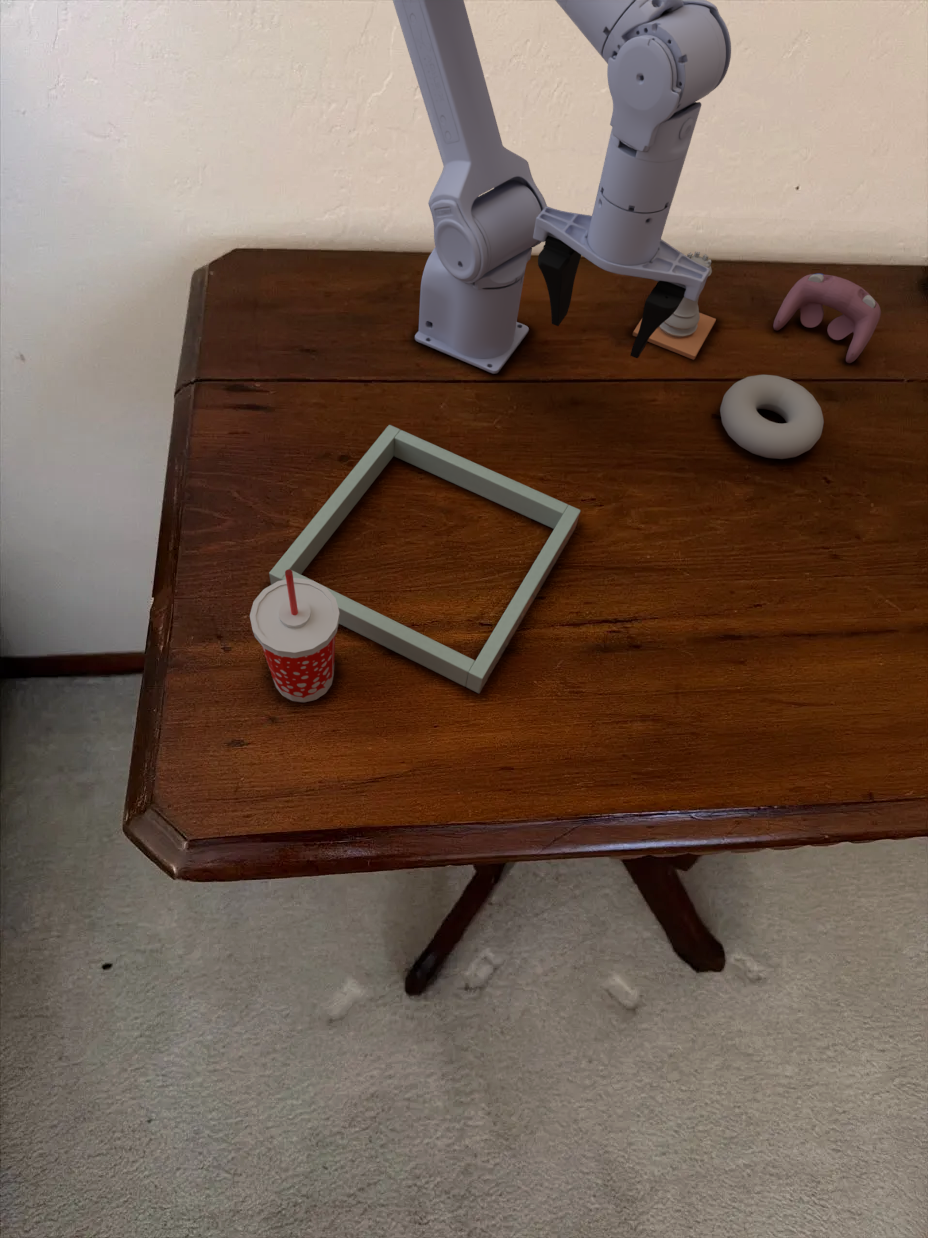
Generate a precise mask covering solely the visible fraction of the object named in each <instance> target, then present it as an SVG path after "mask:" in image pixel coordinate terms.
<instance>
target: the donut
mask: <svg viewBox="0 0 928 1238" xmlns="http://www.w3.org/2000/svg"><path fill="white" fill-rule="evenodd" d="M758 410H767V411H769V412H773V413H775V414H777V415H779V416H780V417H781V418H782V419H783V420H784V421H785V422H784V423H780V422H779V423H778V422H775V421H771V420H769V419H767V418H765V417H763V416H762V415H761V413H759V412H758ZM719 412H720V413H719V414H720V417H721V424H722V426H723V428H724V430H725V432H726V433H727V436H729V437H730V438H731V439H732V440H733V441H734V442H735V443H736V444H737V445H738V446H739V447H740V448H742V449H745V450H746V451H748V452H749V453H751V454H754V455H756V456H760V457H763V458H767V459H777V460H785V459H791V458H797V457H799V456H800V455H802V454H804V453H806V452H808V451H810V450H811V449H812V448H813V447H814V446H815V444H816V443H817V442H818V441H819V439H820V438H821V436H822V434H823V429H824V423H825V421H824V415H823V411H822V407H821V406H820V404H819V402H818V401H817V400H816V398H815V397H814V395H813V394H812V393H811V392H809V390H808V389H806V388H805V387H804V386H802V385H800V384H799V383H797V382H795V381H793V380H791V379H788V378H786V377H782V376H779V375H773V374H757V375H749V376H747V377H744V378H742V379H739V380H738V381H736V382H735V383H733V384H732V386H730V387H729V389H728V390H727V391H726V392H725V393H724V395H723V398H722V401H721V404H720V407H719Z"/></svg>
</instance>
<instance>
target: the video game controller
mask: <svg viewBox="0 0 928 1238" xmlns="http://www.w3.org/2000/svg"><path fill="white" fill-rule="evenodd" d="M824 306H826V307H828V308H831V309H833V310H835V311H837V312H839V313H841V315H839V316H837V317H834V318H833V320H831V321H830V322H829V324H828V326H827V329H826V330H827V335H828V336H829V337H830V338H831V339H832V340H835V341H840V340H843V339H845V338H846V337H848V336H849V335H851V334H852V333H853V336H852V339H851V342H850V344H849V346H848V348H847V349H848V350H847V353H846V356H845V362H846V363H847V364H851V363H853V362H855V361H856V360H857V359H858V358H859V356H860V355H861V354H862V352H863V351H864V349H865V348H866V346H867V345H868V343H869V342H870V340H871V338H872V336H873V334H874V332H875V330H876V328H877V325H878V324H879V321H880V319H881V313H882V311H881V307H880V305H879V303H878V302H877V301H876V299H874V297H873V296H871V294H870V293H869V292H868V291H867V290H865V289H864V288H863V287H862V286H860V285H858V284H856V283H855V282H853V281H851V280H849V279H846V278H843V277H840V276H836V275H830V274H824V273H821V272H817V273H810V274H807V275H804V276H802V277H801V278H800V279H798V280H797V281H796V282H795V283H794V284H793V285H792V287H791V288H790V290H789V291H788V293H787V294H786V296H785V297H784V299H783V301H782V303H781V304H780V307H779V309H778V311H777V313H776V315H775V318H774V319H773V325H772V326H773V330H775V331H780V330H781V329H782V328H784V327H785V326H786V325H787V324H788V322H789V321H790V320H791V319H792V318H793V317H794V315H795V314H796V313H797V311H798V310H799V311H800V312H799V313H800V319H799V320H800V323H801V325H802V326H804V327H806V328H815V327H817V326H819V325H820V324H821V323H822V321H823V319H824V316H825V315H824V314H825V311H824Z"/></svg>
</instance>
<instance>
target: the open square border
mask: <svg viewBox="0 0 928 1238" xmlns="http://www.w3.org/2000/svg"><path fill="white" fill-rule="evenodd" d="M393 457H394V458H397V459H399V460H401V461H403V462H406V463H408V464H410V465H412V466H414V467H417V468H418V469H421V470H424V471H425V472H427V473H429V474H432V475H434V476H437V477H438V478H441V479H443V480H445V481H447V482H450V483H452V484H454V485H456V486H458V487H461V488H463V489H465V490H467V491H469V492H471V493H474V494H476V495H479V496H481V497H483V498H485V499H487V500H489V501H491V502H494V503H495V504H498V505H500V506H503V507H505V508H507V509H509V510H511V511H514V512H516V513H518V514H520V515H522V516H525V517H527V518H529V519H531V520H533V521H536V522H537V523H540V524H542V525H545V527H546V526H547V527H549V528H551V529H553V530H552V532H551V534H550V535H549V537H548V539H547V540H546V542H545V543H544V545H543V547H542V548H541V550H540V552H539V553H538V555H537V557H536V558H535V560H534V562H533V563H532V565H531V567H530V568H529V570H528V572H527V573H526V575H525V577H524V578H523V580H522V582H521V583H520V585H519V587H518V589H517V590H516V591H515V594H514V595H513V597H512V598H511V601H510V602H509V603H508V605H507V607H506V609H505V610H504V612H503V613H502V615H501V617H500V619H499V620H498V622H497V624H496V626H495V627H494V629H493V631H492V632H491V634H490V636H489V637H488V638H487V640H486V642H485V643H484V645H483V647H482V649H481V651H480V652H479V654H478V655H477V657H476V659H475V660H474V659H473V658H471V657H469V656H467V655H464V654H463V653H460V652H459V651H457V650H455V649H453V648H450V647H449V646H446V645H444V644H442V643H440V642H438V641H436V640H434V639H433V638H431V637H429V636H427V635H424V634H422V633H421V632H418V631H416V630H414V629H412V628H410V627H409V626H406V625H404V624H402V623H400V622H398V621H395V620H394V619H392V618H390V617H388V616H386V615H384V614H381V613H379V612H378V611H376V610H374V609H372V608H369V607H368V606H366V605H363V604H361V603H359V602H358V601H355V600H353V599H351V598H349V597H347V596H345V595H343V594H341V593H339V592H337V591H335V590H333V589H330V588H329V587H328V586H325V587H326V588H327V589H328V590H329V591H330V592H331V594H332V595H333V596H334V597H335V598H336V601H337V605H338V609H339V612H340V616H339V618H340V619H339V624H338V625H341V626H343V627H345V628H347V629H348V630H351V631H352V632H354V633H357V634H359V635H360V636H362V637H365V638H366V639H369V640H371V641H373V642H375V643H376V644H379V645H381V646H383V647H385V648H387V649H389V650H391V651H392V652H395V653H397V654H399V655H401V656H403V657H405V658H407V659H409V660H410V661H413V662H415V663H417V664H419V665H421V666H423V667H425V668H426V669H428V670H431V671H433V672H435V673H437V674H439V675H440V676H443V677H445V678H447V679H449V680H451V681H452V682H454V683H456V684H458V685H461V686H463V687H466V688H467V689H468V690H470V691H473V692H475V693H477V694H480V693H481V691H482V690H483V688H484V686H485V684H486V683H487V681H488V680H489V678H490V677H491V674H492V673H493V670H494V669H495V668H496V666H497V664H498V662H499V661H500V659H501V657H502V656H503V654H504V652H505V650H506V648H507V647H508V645H509V644H510V642H511V640H512V638H513V637H514V635H515V633H516V632H517V630H518V628H519V626H520V624H521V623H522V621H523V620H524V617H525V616H526V614H527V613H528V611H529V609H530V607H531V605H532V604H533V602H534V600H535V598H536V597H537V595H538V593H539V591H540V590H541V588H542V586H543V585H544V583H545V581H546V579H547V578H548V576H549V575H550V573H551V571H552V569H553V568H554V566H555V564H556V562H557V561H558V559H559V557H560V555H561V554H562V552H563V550H564V549H565V547H566V545H567V544H568V542H569V540H570V539H571V537H572V535H573V533H574V531H575V530H576V527H577V524H578V521H579V518H580V514H581V512H582V511H581V509H580V508H577V507H575V506H572V505H571V504H568V503H566V502H564V501H561V500H558V499H557V498H554V497H552V496H550V495H548V494H546V493H543V492H541V491H540V490H537V489H534V488H533V487H530V486H528V485H525V484H523V483H521V482H519V481H517V480H514V479H512V478H510V477H507V476H505V475H503V474H501V473H498V472H497V471H494V470H492V469H489V468H488V467H485V466H483V465H481V464H479V463H476V462H474V461H473V460H472V461H471V460H470V459H467V458H465V457H463V456H460V455H459V454H456V453H454V452H452V451H449V450H447V449H445V448H442V447H441V446H438V445H436V444H433V443H432V442H429V441H427V440H424V439H423V438H420V437H418V436H417V435H414V434H411V433H409V432H407V431H405V430H402V429H401V428H398V427H396V426H394V425H392V424H388V426H386V427H385V429H384V430H383V431H382V433H381V434H380V435H379V436H378V438H377V439H376V440H375V441H374V443H372V445H371V446H370V448H369V449H368V450H367V451H366V452H365V453H364V455H363V456H362V457H361V458H360V459H359V461H358V462H357V463H356V465H355V466H354V467H353V468H352V470H351V471H350V472H349V473H348V475H347V476H346V477H345V479H344V480H343V481H342V482H341V483H340V484H339V486H338V487H337V488H336V489H335V491H334V492H333V493H332V494H331V495H330V497H329V498H328V499H327V501H325V503H324V505H322V506H321V508H320V509H319V510H318V512H317V513H316V514H315V515H314V516H313V518H312V519H311V520H310V522H308V524H307V525H306V526H305V528H304V529H303V530H302V531H301V533H300V534H298V536H297V538H296V539H295V540H294V541H293V542H292V544H290V546H289V548H287V551H285V553H284V554H283V555H282V556H281V558H280V559H279V560H278V561H277V562H276V563H275V565H274V566H273V567H272V568H271V570H270V571H269V572H268V575H269V576H268V577H269V581H270V585H272V584H274V583H276V582H277V581H281V580H286V576H285V571H286V570H288V569H290V570H292V573H293V578H300V579H308V580H312V579H311V578H308V577H307V576H304V575H302V574H303V573H304V571H305V570H306V569H307V568H308V566H309V565H310V564H311V562H312V561H313V560H314V558H315V557H316V556H317V555H318V553H319V552H320V551H321V550H322V548H323V547H324V545H325V544H326V543H328V541H329V539H331V537H332V535H333V534H334V533H335V532H336V530H338V528H339V527H340V526H341V524H342V523H343V521H344V520H345V519H346V518H347V516H348V515H349V514H350V513H351V511H352V510H353V509H354V507H355V506H356V505H357V504H358V502H359V501H360V500H361V498H362V497H363V496H364V494H365V493H366V492H367V491H368V490H369V488H370V487H371V485H372V484H373V483H374V482H375V480H376V479H377V478H378V477H379V476H380V474H381V473H382V471H383V470H384V469H385V468H386V466H387V465H388V464H389V463H390V462H391V460H392V459H393Z"/></svg>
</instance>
